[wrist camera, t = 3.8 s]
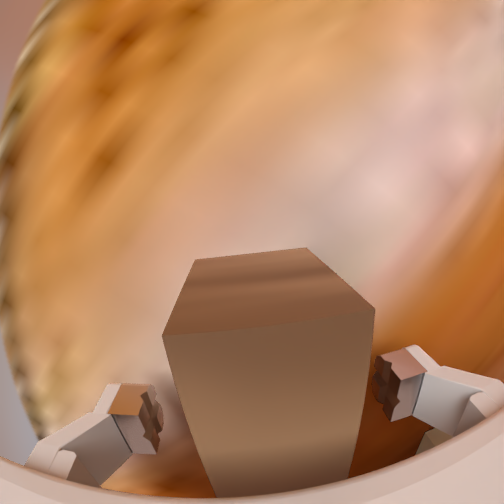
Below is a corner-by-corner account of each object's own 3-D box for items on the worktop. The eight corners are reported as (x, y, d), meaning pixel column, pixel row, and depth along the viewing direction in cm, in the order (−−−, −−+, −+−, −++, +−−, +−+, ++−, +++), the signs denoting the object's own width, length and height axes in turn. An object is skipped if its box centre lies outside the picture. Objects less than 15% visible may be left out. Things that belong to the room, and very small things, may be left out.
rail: (195, 259, 9) (156, 348, 4) (306, 247, 10) (385, 318, 4) (243, 492, 13) (249, 567, 7) (305, 484, 13) (324, 557, 8)
